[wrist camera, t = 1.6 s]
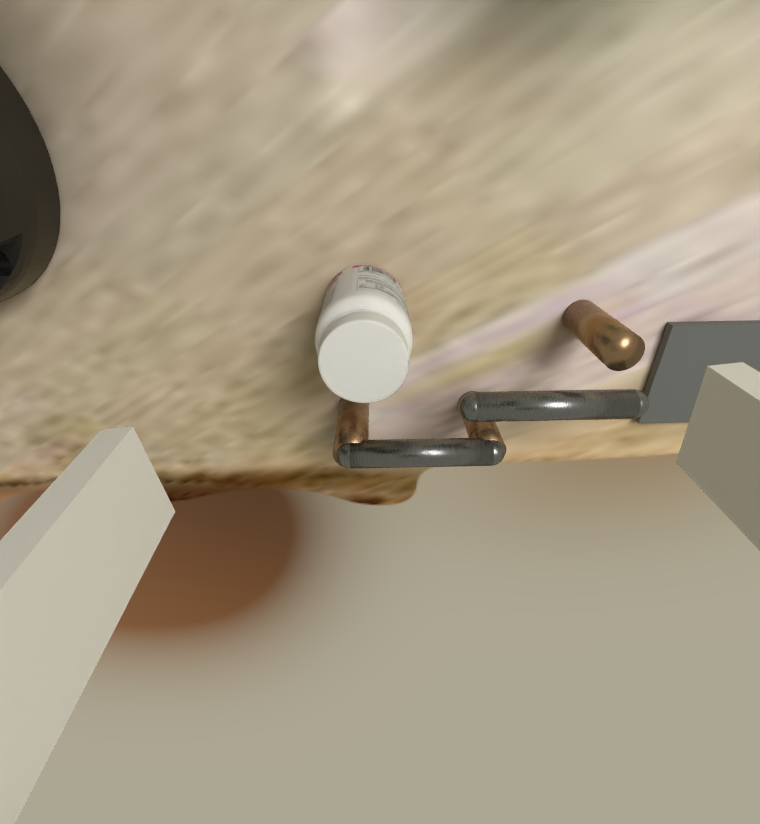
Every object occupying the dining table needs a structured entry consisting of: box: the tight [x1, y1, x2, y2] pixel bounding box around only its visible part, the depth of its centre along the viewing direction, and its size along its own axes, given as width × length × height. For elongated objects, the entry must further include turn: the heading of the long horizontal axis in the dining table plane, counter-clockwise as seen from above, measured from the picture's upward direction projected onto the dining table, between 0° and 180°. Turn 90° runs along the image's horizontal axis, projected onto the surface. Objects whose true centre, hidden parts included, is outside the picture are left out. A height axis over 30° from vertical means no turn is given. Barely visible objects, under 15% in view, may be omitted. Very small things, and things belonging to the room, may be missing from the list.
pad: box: [635, 321, 760, 423], centre depth 28 cm, size 7×7×1 cm
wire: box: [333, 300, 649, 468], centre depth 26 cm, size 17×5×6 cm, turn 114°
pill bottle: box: [315, 264, 413, 403], centre depth 22 cm, size 5×5×8 cm
